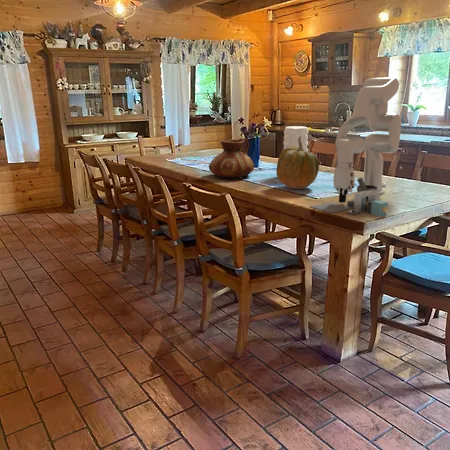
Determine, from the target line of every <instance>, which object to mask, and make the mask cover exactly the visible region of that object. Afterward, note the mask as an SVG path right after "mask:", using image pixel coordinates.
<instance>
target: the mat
mask: <svg viewBox="0 0 450 450" xmlns="http://www.w3.org/2000/svg"><path fill="white" fill-rule="evenodd" d="M309 208H312V209H315V210H319V211H322V212H325V213H329V214H334V213H339V212H343V211H349V210H353V208H351V207H347V206H346V205H342V204H338V203H335V202H325V203H320V204H314V205H310V206H309Z"/></svg>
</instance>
